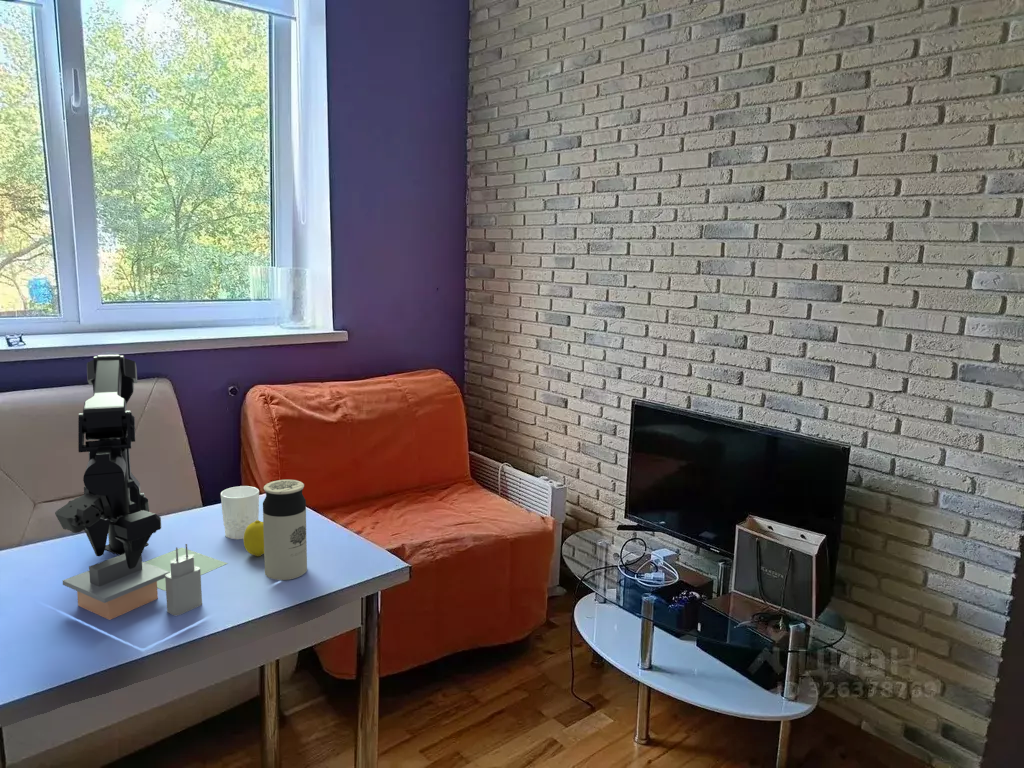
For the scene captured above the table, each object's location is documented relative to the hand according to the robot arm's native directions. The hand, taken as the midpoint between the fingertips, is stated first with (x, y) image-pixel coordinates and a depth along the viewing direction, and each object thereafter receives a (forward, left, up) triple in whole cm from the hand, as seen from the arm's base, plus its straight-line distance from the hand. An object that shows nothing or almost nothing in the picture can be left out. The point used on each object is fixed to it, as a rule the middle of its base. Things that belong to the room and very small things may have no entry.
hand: (115, 561), depth 127 cm
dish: (0, 0, -8) cm, 8 cm away
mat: (-4, +14, -8) cm, 17 cm away
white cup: (-7, +33, -8) cm, 35 cm away
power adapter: (+11, +5, -8) cm, 15 cm away
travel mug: (+15, +25, -8) cm, 30 cm away
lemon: (+5, +27, -8) cm, 29 cm away
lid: (0, 0, -4) cm, 4 cm away
